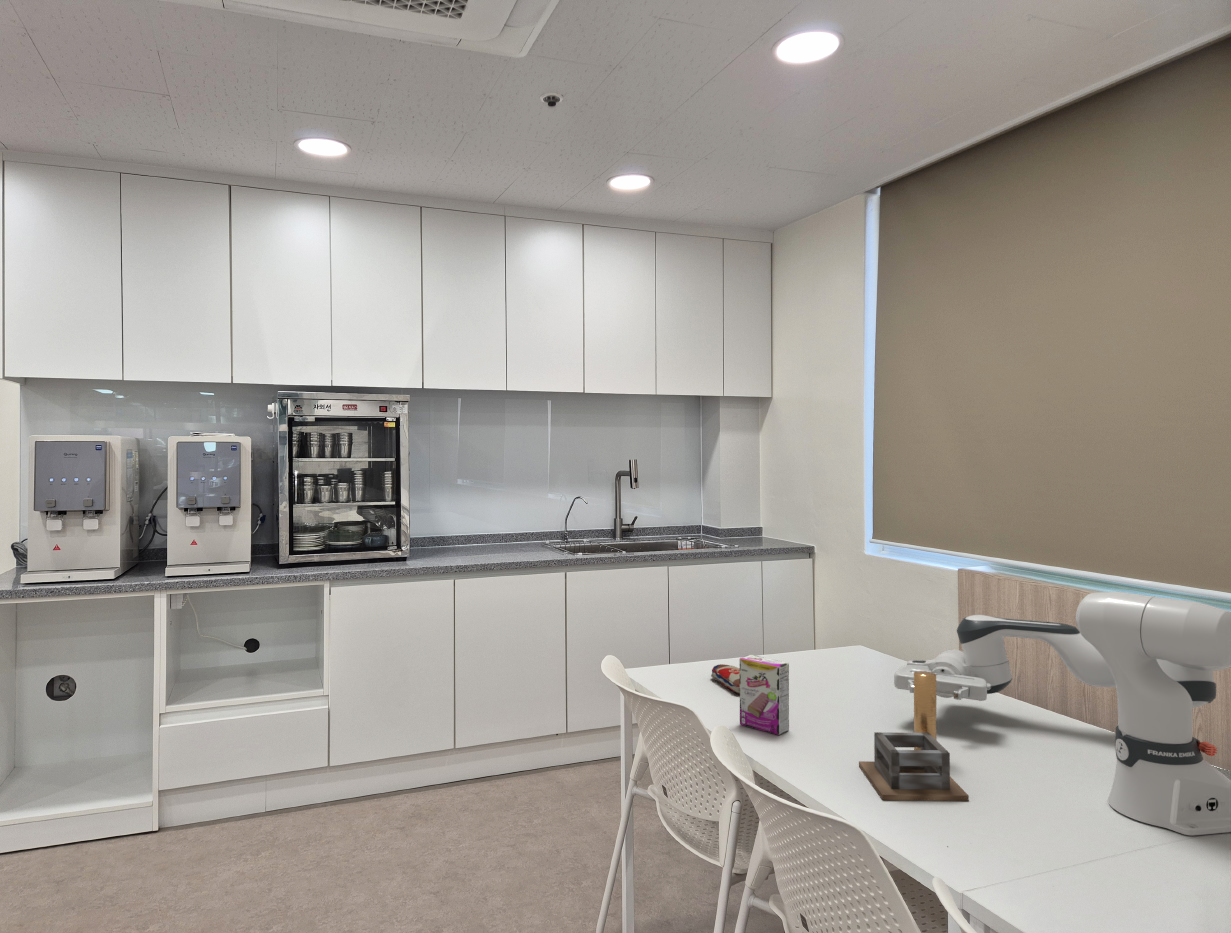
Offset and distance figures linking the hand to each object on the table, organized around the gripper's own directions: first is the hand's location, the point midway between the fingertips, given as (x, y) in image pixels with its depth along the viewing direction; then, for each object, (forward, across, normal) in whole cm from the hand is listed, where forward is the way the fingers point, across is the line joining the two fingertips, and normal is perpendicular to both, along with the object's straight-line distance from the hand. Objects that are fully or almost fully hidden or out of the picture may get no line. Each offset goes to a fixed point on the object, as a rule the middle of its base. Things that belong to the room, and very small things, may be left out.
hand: (934, 692), depth 175 cm
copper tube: (+12, 0, -11) cm, 16 cm away
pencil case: (-15, +56, -11) cm, 59 cm away
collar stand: (+27, 0, -11) cm, 29 cm away
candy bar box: (+12, +36, -11) cm, 40 cm away
